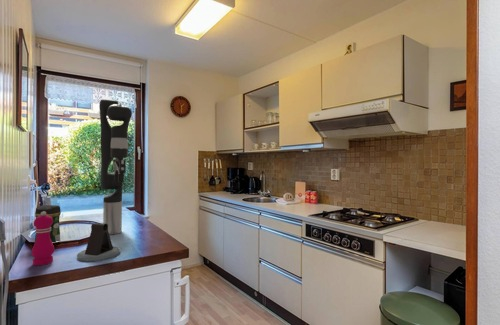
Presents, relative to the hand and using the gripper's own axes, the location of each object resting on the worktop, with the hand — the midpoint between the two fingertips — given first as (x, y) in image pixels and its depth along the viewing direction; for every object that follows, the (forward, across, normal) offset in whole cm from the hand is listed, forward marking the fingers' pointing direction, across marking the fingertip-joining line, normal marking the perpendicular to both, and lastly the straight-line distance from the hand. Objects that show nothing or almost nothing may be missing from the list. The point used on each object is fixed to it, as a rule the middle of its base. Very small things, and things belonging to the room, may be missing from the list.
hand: (119, 181), depth 131 cm
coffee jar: (+30, -19, -27) cm, 45 cm away
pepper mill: (+30, +9, -29) cm, 43 cm away
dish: (+30, +12, -10) cm, 34 cm away
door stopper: (+29, +12, -10) cm, 33 cm away
